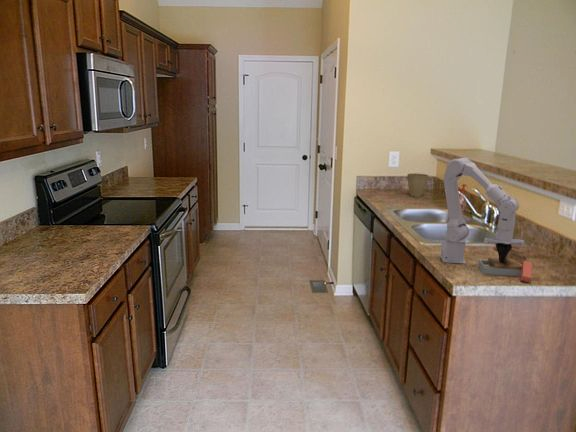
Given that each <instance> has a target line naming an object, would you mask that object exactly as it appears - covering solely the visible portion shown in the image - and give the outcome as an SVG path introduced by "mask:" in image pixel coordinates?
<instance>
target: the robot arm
mask: <svg viewBox="0 0 576 432" xmlns="http://www.w3.org/2000/svg"><path fill="white" fill-rule="evenodd" d="M445 166H446V169H445V172H444V175H443V178H442V179H443V187H444V192H445V199H446V207H447V213H448V220H447V224H446V231H445V236H446V238H447V239H443V240H441V245H440V246H441V247H440V254H439V257H440V259H441V260H442V262H443V263H448V264H449V263H450V264H452V263H453V264H467V262H466V259H465V252H466V251H465V250H466V244H467V243H466V242H467V240H466V239H467V237H468V236H469V233H470V229H469V227H468V225H467V222H466V219H464V218H463V213H462V212H463V211H462V206H461V205H462V204H461V198H460V192H459V185H458V181H459V180H460V179H461V177H462V176H467V177H471V179H473V180H474V181H475V182H477V184H479V185H480V186H481V187H482V188H483V189H484V190H485V195H486V196H487V197H488V198H489V199H490V200H491V201H492V202H493V203H494V204H495V205H496V206H497V209H498V211H499V218H498V225H497V232H496V237H484V240H483V243H484V244H485V245H488V244H489V245H495V247H496V248H497V250H496V251H497V255H498V258H499V261H500V262H504V260H505V258H506V256H507V254H508V253H509V251H510V250H511V249H512V250H513V246H521V247H524V246H525V240H523V239H517V238H513V237H514V233H515V232H514V230H515V225H516V216H517V211H518V210H519V207H520V204H519V201H518V200H517V198H515V197H512V195H510V194H508V193H507V192H506V191H505V190H504V189H503V186H502V185H500V184H498V183H495V184H494V183H493V182H491V180H490V179H489V178H487V176H486V175H485V174H484V173H483V172H482V171H481V170H480V169H479V167H478V166H477V165H476V163H475V162H473V161H471V159H470V158H468V157H461V158H453V159H451V160H450V161H449V162H448V163H447V164H446V165H445ZM506 259H507V258H506Z"/></svg>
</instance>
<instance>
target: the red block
mask: <svg viewBox="0 0 576 432" xmlns="http://www.w3.org/2000/svg"><path fill="white" fill-rule="evenodd" d="M521 267H522V269H521V277H520V281H521V282H526V283H530V282H531V280H532V271H533V262H530V261H528V260H527V261H523V263H521Z"/></svg>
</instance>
